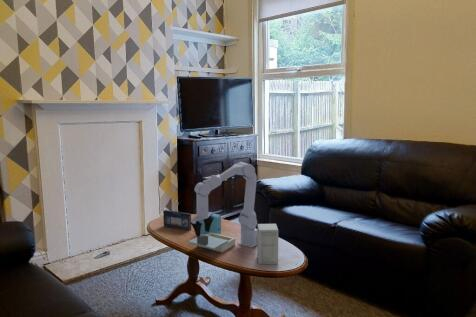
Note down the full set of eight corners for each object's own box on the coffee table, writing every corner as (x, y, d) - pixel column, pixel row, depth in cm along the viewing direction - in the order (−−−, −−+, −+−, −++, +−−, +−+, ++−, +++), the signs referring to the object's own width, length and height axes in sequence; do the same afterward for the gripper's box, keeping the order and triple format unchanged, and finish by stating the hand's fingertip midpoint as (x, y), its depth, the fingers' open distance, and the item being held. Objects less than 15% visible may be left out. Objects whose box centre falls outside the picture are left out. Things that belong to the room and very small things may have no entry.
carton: (235, 245, 199) (235, 238, 198) (222, 253, 189) (222, 245, 188) (210, 239, 207) (210, 232, 207) (197, 246, 197) (197, 238, 197)
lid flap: (228, 241, 192) (228, 232, 192) (213, 249, 182) (213, 240, 181) (202, 235, 201) (202, 227, 200) (187, 242, 191) (187, 233, 190)
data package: (221, 235, 214) (221, 214, 212) (217, 237, 210) (217, 216, 209) (203, 231, 220) (203, 211, 218) (199, 234, 216) (198, 213, 214)
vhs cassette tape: (163, 226, 228) (162, 210, 227) (166, 225, 231) (165, 209, 229) (188, 231, 220) (188, 214, 219) (191, 229, 223) (191, 213, 221)
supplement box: (275, 256, 186) (276, 223, 183) (278, 264, 176) (279, 229, 174) (256, 256, 185) (257, 223, 183) (258, 264, 176) (258, 229, 174)
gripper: (204, 202, 193) (205, 228, 195) (186, 209, 181) (186, 236, 183) (216, 204, 189) (216, 230, 191) (198, 211, 177) (198, 239, 179)
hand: (202, 233), depth 187 cm, fingers open, 7 cm apart
